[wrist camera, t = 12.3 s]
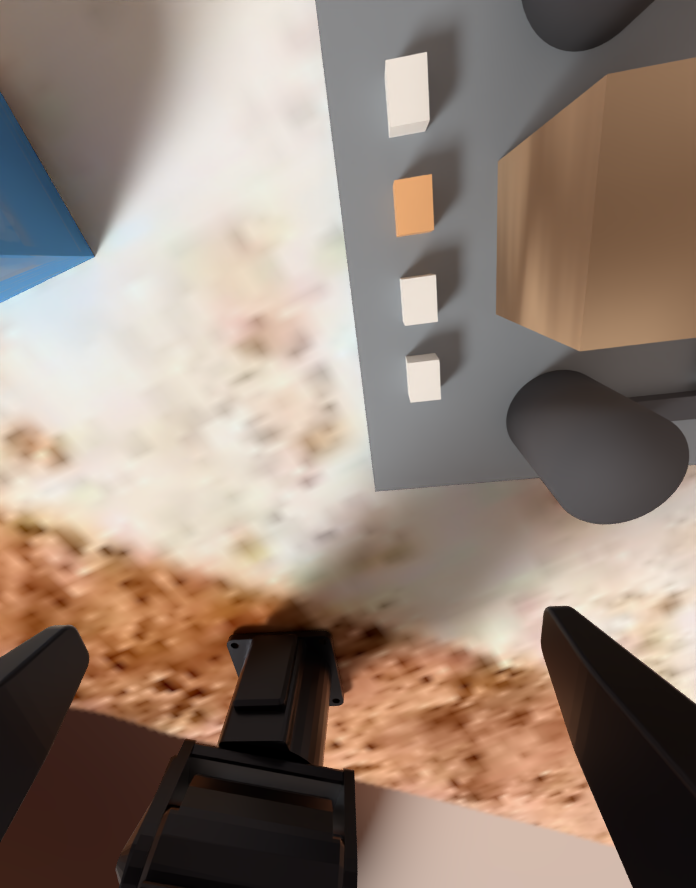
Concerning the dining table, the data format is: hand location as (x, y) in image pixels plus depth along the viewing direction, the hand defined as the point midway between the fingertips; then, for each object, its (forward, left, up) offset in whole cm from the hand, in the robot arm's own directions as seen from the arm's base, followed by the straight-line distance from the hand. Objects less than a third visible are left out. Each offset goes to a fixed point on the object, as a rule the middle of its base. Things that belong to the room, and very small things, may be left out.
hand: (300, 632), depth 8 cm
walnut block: (+6, -9, -11) cm, 16 cm away
